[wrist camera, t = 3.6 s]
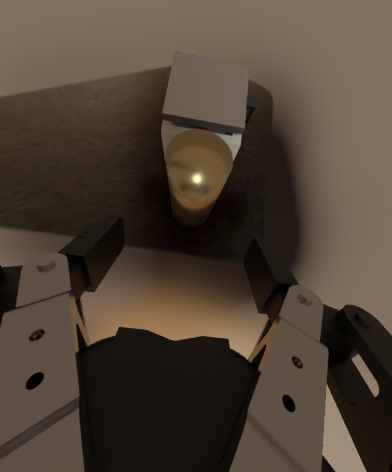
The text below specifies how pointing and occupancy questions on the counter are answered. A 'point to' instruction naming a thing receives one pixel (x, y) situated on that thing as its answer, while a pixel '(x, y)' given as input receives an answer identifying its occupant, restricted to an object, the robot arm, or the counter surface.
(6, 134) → the counter surface
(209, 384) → the robot arm
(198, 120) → the box lid
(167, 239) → the counter surface
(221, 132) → the white latched box
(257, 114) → the counter surface
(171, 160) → the disc
